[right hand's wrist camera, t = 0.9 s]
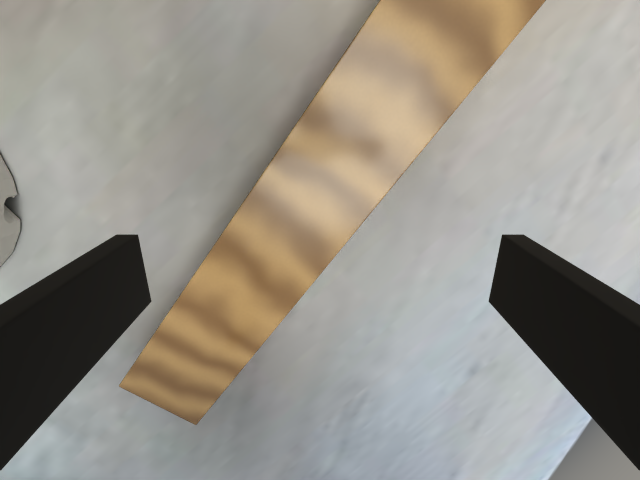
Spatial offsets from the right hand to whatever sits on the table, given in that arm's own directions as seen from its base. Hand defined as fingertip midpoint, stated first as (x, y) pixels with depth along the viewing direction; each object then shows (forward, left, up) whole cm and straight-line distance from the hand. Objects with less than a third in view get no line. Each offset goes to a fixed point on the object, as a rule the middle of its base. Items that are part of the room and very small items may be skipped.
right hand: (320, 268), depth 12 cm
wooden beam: (-3, +4, -25) cm, 25 cm away
